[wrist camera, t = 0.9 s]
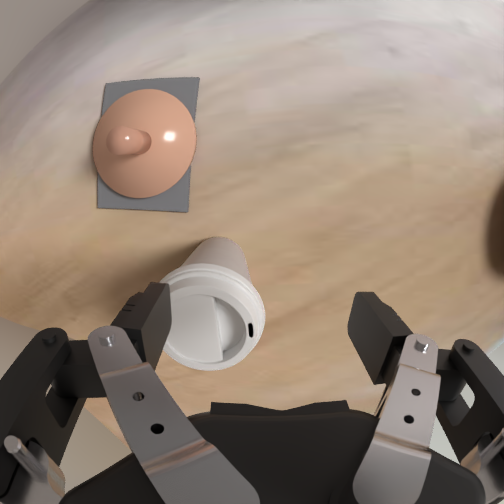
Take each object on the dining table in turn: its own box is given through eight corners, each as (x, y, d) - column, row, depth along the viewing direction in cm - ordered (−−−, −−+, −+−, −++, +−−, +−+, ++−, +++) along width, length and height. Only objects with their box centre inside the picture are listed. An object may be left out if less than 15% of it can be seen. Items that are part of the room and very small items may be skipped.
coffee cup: (244, 305, 37) (244, 388, 23) (173, 284, 36) (136, 357, 21) (269, 238, 34) (286, 297, 20) (192, 213, 33) (153, 256, 19)
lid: (101, 94, 27) (72, 85, 21) (202, 89, 28) (191, 72, 21) (94, 196, 31) (65, 205, 25) (192, 199, 32) (179, 210, 25)
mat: (107, 84, 27) (105, 83, 27) (199, 78, 28) (199, 77, 27) (99, 207, 32) (97, 207, 32) (188, 211, 33) (187, 212, 32)
